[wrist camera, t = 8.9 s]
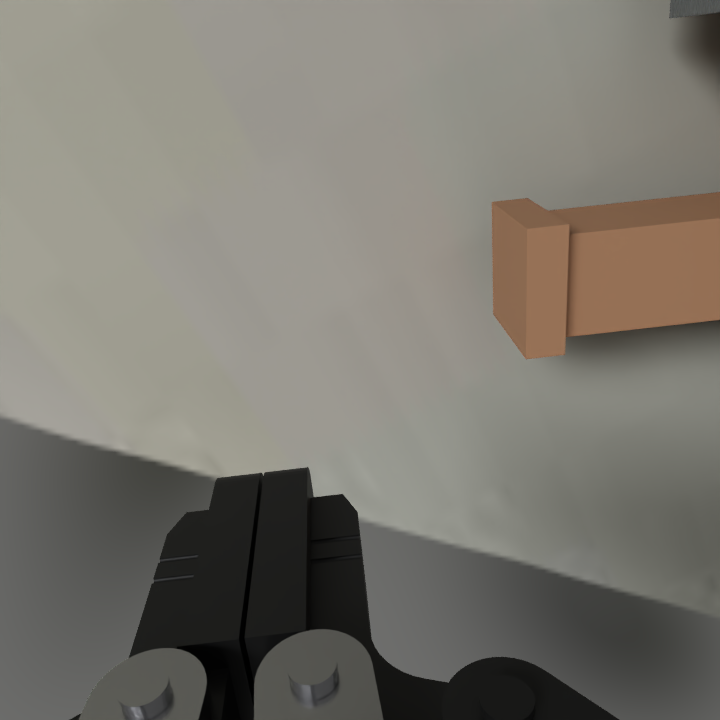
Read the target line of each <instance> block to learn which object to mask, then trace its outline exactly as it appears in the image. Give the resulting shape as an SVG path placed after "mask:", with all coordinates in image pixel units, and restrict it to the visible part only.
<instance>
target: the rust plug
mask: <svg viewBox="0 0 720 720" xmlns="http://www.w3.org/2000/svg"><path fill="white" fill-rule="evenodd" d="M492 247H493V315H494V316H495V317H496V319H497V320H498V321H499V323H500V324H501V326H502V327H503V328H504V330H505V331H506V332H507V334H508V335H509V336H510V338H511V339H512V341H513V342H514V343H515V345H516V346H517V347H518V349H519V350H520V352H521V353H522V354H523V356H524V357H525V358H526V359H532V358H541V357H549V356H558V355H565V341H566V337H572V336H581V335H589V334H598V333H607V332H616V331H625V330H634V329H643V328H652V327H660V326H669V325H678V324H687V323H696V322H705V321H714V320H720V192H717V193H708V194H698V195H689V196H680V197H671V198H661V199H652V200H643V201H633V202H624V203H615V204H606V205H596V206H587V207H578V208H569V209H559V210H550V211H547V210H546V209H544V208H542V207H541V206H539V205H538V204H536V203H534V202H533V201H531V200H530V199H528V198H525V199H515V200H506V201H497V202H492Z"/></svg>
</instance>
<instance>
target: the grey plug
mask: <svg viewBox="0 0 720 720" xmlns="http://www.w3.org/2000/svg"><path fill="white" fill-rule="evenodd" d="M715 13H720V0H671V3H670V15H669V18H677V17H687V16H697V15H707V14H715Z"/></svg>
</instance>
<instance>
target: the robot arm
mask: <svg viewBox="0 0 720 720" xmlns="http://www.w3.org/2000/svg"><path fill="white" fill-rule="evenodd" d="M70 720H619V719H617V718H616V717H614V716H613V715H611V714H610V713H608V712H607V711H605V710H604V709H602V708H601V707H599V706H598V705H596V704H595V703H593V702H592V701H590V700H589V699H587V698H586V697H584V696H583V695H581V694H579V693H578V692H577V691H575V690H573V689H572V688H570V687H569V686H568V685H566V684H564V683H563V682H561V681H560V680H558V679H557V678H555V677H554V676H552V675H551V674H549V673H548V672H546V671H545V670H543V669H541V668H540V667H538V666H536V665H534V664H531V663H529V662H526V661H523V660H519V659H515V658H508V657H492V658H486V659H481V660H478V661H475V662H473V663H471V664H469V665H467V666H465V667H464V668H462V669H461V670H460V671H458V672H457V673H456V674H455V675H454V677H453V678H452V679H451V680H450V682H449V683H447V682H441V681H435V680H429V679H424V678H420V677H415V676H412V675H409V674H407V673H404V672H402V671H400V670H398V669H396V668H395V667H393V666H392V665H391V664H389V663H388V662H387V661H386V660H385V659H384V658H383V657H382V656H381V655H380V654H379V653H378V651H377V650H376V648H375V647H374V644H373V642H372V639H371V629H370V620H369V611H368V601H367V591H366V582H365V574H364V565H363V557H362V547H361V539H360V530H359V521H358V513H357V511H356V510H355V508H354V507H353V506H352V505H351V504H350V502H349V501H348V500H347V499H346V498H345V496H344V495H343V494H339V495H330V496H322V497H314V496H313V489H312V483H311V476H310V471H309V468H308V467H307V468H299V469H290V470H281V471H273V472H265V473H264V476H263V474H262V473H257V474H248V475H239V476H231V477H222V478H217V480H216V482H215V486H214V490H213V495H212V499H211V503H210V507H209V510H204V511H195V512H187V513H186V514H185V515H184V516H183V517H182V518H181V520H179V522H178V523H177V524H176V525H175V526H174V527H173V529H172V530H171V531H170V532H169V533H168V534H167V537H166V540H165V543H164V546H163V550H162V553H161V556H160V563H158V566H157V569H156V572H155V575H154V583H153V584H152V585H151V588H150V591H149V595H148V598H147V601H146V604H145V608H144V611H143V614H142V617H141V620H140V624H139V627H138V630H137V633H136V637H135V640H134V643H133V646H132V650H131V653H130V656H129V658H128V659H126V660H124V661H123V662H121V663H120V664H118V665H117V666H115V667H114V668H113V669H111V670H110V671H109V672H108V673H107V674H106V675H105V676H104V677H103V678H102V679H101V680H100V681H99V682H98V683H97V685H96V686H95V688H94V689H93V690H92V692H91V694H90V696H89V698H88V700H87V702H86V704H85V706H84V709H83V711H82V713H81V714H79V715H77V716H76V717H74V718H72V719H70Z"/></svg>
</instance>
